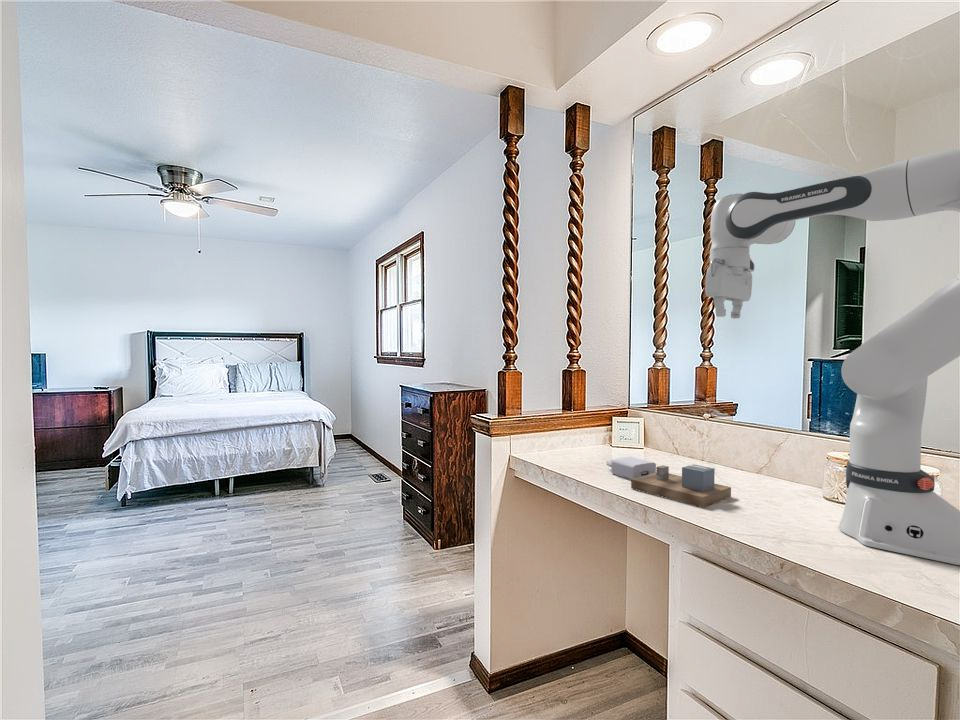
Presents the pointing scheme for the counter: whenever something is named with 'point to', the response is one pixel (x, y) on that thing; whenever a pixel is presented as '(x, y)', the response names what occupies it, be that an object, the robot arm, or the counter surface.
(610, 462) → the charger
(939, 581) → the counter surface
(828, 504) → the counter surface
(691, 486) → the blue-grey cube block
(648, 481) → the board
